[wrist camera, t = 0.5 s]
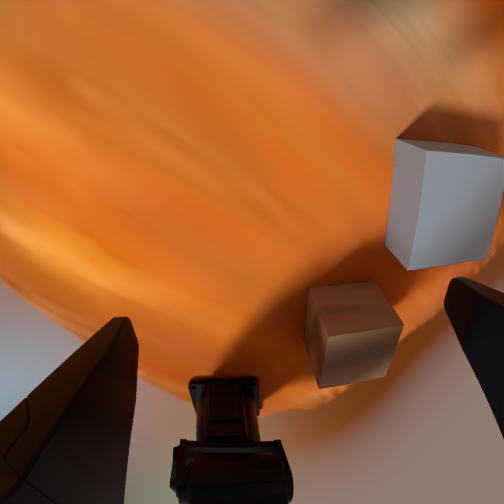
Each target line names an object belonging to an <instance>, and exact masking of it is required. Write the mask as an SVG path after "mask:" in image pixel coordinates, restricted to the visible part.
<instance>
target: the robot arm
mask: <svg viewBox="0 0 504 504" xmlns="http://www.w3.org/2000/svg"><path fill="white" fill-rule="evenodd" d="M444 308H445V311H446V313H447V315H448V317H449V319H450V322H451V324H452V326H453V329H454V331H455V333H456V336H457V338H458V340H459V342H460V345H461V347H462V349H463V351H464V353H465V355H466V357H467V359H468V361H469V363H470V365H471V367H472V369H473V371H474V373H475V375H476V377H477V379H478V381H479V383H480V385H481V388H482V390H483V392H484V394H485V396H486V398H487V401H488V403H489V405H490V407H491V409H492V412H493V414H494V417H495V419H496V421H497V424H498V426H499V429H500V431H501V434H502V436H503V439H504V293H502V292H500V291H498V290H495V289H493V288H490V287H488V286H485V285H483V284H481V283H478V282H475V281H473V280H471V279H468V278H466V277H456V278H453V279H451V281H450V283H449V286H448V289H447V293H446V296H445V299H444ZM138 354H139V345H138V340H137V337H136V334H135V331H134V328H133V326H132V323H131V320H130V319H129V318H128V317H114V318H112V319H111V320H110V321H109V322H108V323H107V324H105V325H104V326H103V327H102V328H101V329H100V330H99V331H97V332H96V333H95V334H94V335H93V336H92V337H91V338H90V339H88V340H87V341H86V342H85V343H84V344H83V345H82V346H81V347H80V348H79V349H77V350H76V351H75V352H74V353H73V354H72V355H71V356H70V357H69V358H68V359H67V360H65V361H64V362H63V363H62V364H61V365H60V366H59V367H58V368H57V369H56V370H54V371H53V372H52V373H51V374H50V375H49V376H48V377H47V378H46V379H45V380H44V381H43V382H42V383H41V384H39V386H37V387H36V388H35V389H34V390H33V391H32V392H31V393H30V394H29V395H28V396H27V398H25V399H24V400H22V402H20V403H19V404H18V405H17V406H16V407H15V408H14V409H13V410H12V411H11V412H10V413H9V414H8V415H7V416H5V417H4V418H3V419H2V420H1V421H0V504H124V494H125V482H126V472H127V463H128V455H129V446H130V439H131V431H132V424H133V417H134V410H135V403H136V392H137V370H138ZM188 388H189V392H190V395H191V398H192V402H193V405H194V408H195V412H196V415H197V420H196V423H197V425H196V429H197V430H196V431H197V432H196V441H188V440H186V439H180V445H179V446H177V447H174V448H173V464H172V471H171V478H170V488H171V489H172V490H173V491H174V492H175V493H176V496H177V497H178V499H179V504H289V503H290V502H291V501H292V498H293V489H294V488H293V477H292V473H291V469H290V467H289V463H288V460H287V457H286V455H285V452H284V449H283V446H282V443H281V440H280V439H279V440H274V441H260V434H259V426H258V419H257V416H259V414H260V413H259V382H258V379H257V378H255V377H250V378H238V379H224V380H207V381H191V382H189V385H188Z"/></svg>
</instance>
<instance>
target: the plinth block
mask: <svg viewBox="0 0 504 504" xmlns="http://www.w3.org/2000/svg"><path fill="white" fill-rule="evenodd" d="M503 189H504V157H502V156H500V155H497V154H495V153H492V152H490V151H487V150H485V149H482V148H480V147H477V146H471V145H463V144H454V143H445V142H434V141H423V140H410V139H395V155H394V168H393V180H392V190H391V199H390V208H389V216H388V223H387V231H386V238H385V244H384V245H385V246H386V247H387V248H388V249H389V250H390V251H391V253H392V254H393V255H394V256H395V257H396V258H397V259H398V260H399V261H400V263H401V264H402V265H403V266H404V267H405V268H406V269H407V271H409V270H416V269H424V268H430V267H437V266H444V265H451V264H457V263H464V262H470V261H476V260H482V259H487V256H488V252H489V249H490V245H491V242H492V238H493V234H494V230H495V226H496V222H497V218H498V214H499V209H500V204H501V199H502V194H503Z"/></svg>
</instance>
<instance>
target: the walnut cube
mask: <svg viewBox="0 0 504 504" xmlns="http://www.w3.org/2000/svg"><path fill="white" fill-rule="evenodd" d="M403 325H404V324H403V322H402V321H401V319H400V318H399V316H398V315H397V313H396V312H395V310H394V309H393V307H392V306H391V304H390V303H389V301H388V300H387V298H386V297H385V295H384V294H383V293H382V291H381V290H380V288H379V287H378V285H377V284H376V282H375V281H367V282H358V283H349V284H340V285H330V286H320V287H310V288H308V299H307V311H306V322H305V332H304V343H305V346H306V349H307V352H308V356H309V359H310V362H311V365H312V369H313V372H314V375H315V379H316V382H317V385H318V388H319V389H323V388H329V387H335V386H340V385H346V384H351V383H356V382H361V381H366V380H371V379H375V378H379V377H384V376H385V375H386V373H387V370H388V368H389V365H390V362H391V360H392V357H393V354H394V352H395V349H396V346H397V343H398V340H399V337H400V335H401V332H402V329H403Z"/></svg>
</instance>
